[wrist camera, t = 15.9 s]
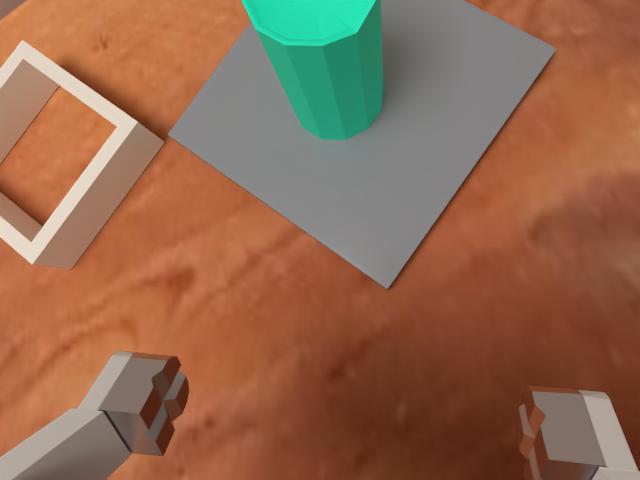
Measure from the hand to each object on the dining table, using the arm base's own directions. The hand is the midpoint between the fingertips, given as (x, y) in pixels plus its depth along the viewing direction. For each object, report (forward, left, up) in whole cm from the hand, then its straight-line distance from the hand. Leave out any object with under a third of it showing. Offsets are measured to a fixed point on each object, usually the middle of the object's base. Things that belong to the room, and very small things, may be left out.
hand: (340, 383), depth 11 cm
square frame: (+3, -25, -17) cm, 30 cm away
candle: (-11, -10, -16) cm, 23 cm away
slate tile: (-12, -10, -17) cm, 23 cm away
